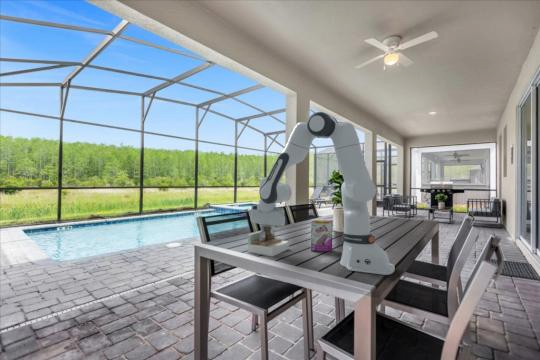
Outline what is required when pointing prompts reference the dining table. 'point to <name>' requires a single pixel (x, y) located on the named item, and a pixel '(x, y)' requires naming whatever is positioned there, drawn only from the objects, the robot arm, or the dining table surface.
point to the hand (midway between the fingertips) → (267, 232)
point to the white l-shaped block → (268, 250)
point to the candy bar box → (321, 235)
